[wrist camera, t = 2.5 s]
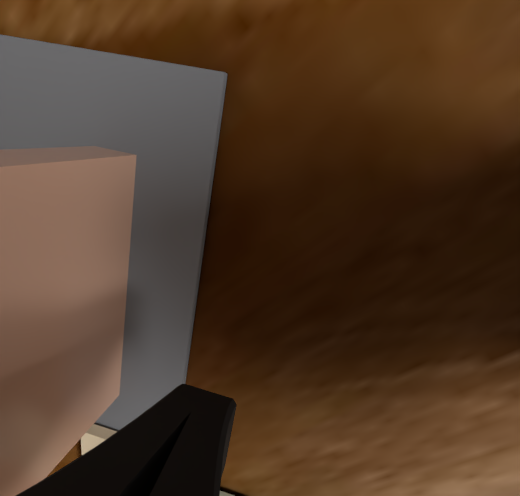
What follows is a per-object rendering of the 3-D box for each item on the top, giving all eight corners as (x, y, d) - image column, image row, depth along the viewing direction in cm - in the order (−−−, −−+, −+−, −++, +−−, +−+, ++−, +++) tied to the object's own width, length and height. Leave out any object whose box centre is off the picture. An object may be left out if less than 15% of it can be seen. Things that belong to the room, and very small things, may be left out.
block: (136, 154, 13) (-82, 174, 6) (119, 395, 16) (-39, 571, 10) (93, 145, 13) (-158, 154, 7) (84, 383, 16) (-93, 548, 10)
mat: (227, 73, 12) (224, 72, 12) (174, 463, 17) (171, 469, 17) (-153, 9, 14) (-164, 7, 14) (-102, 368, 19) (-108, 371, 19)
